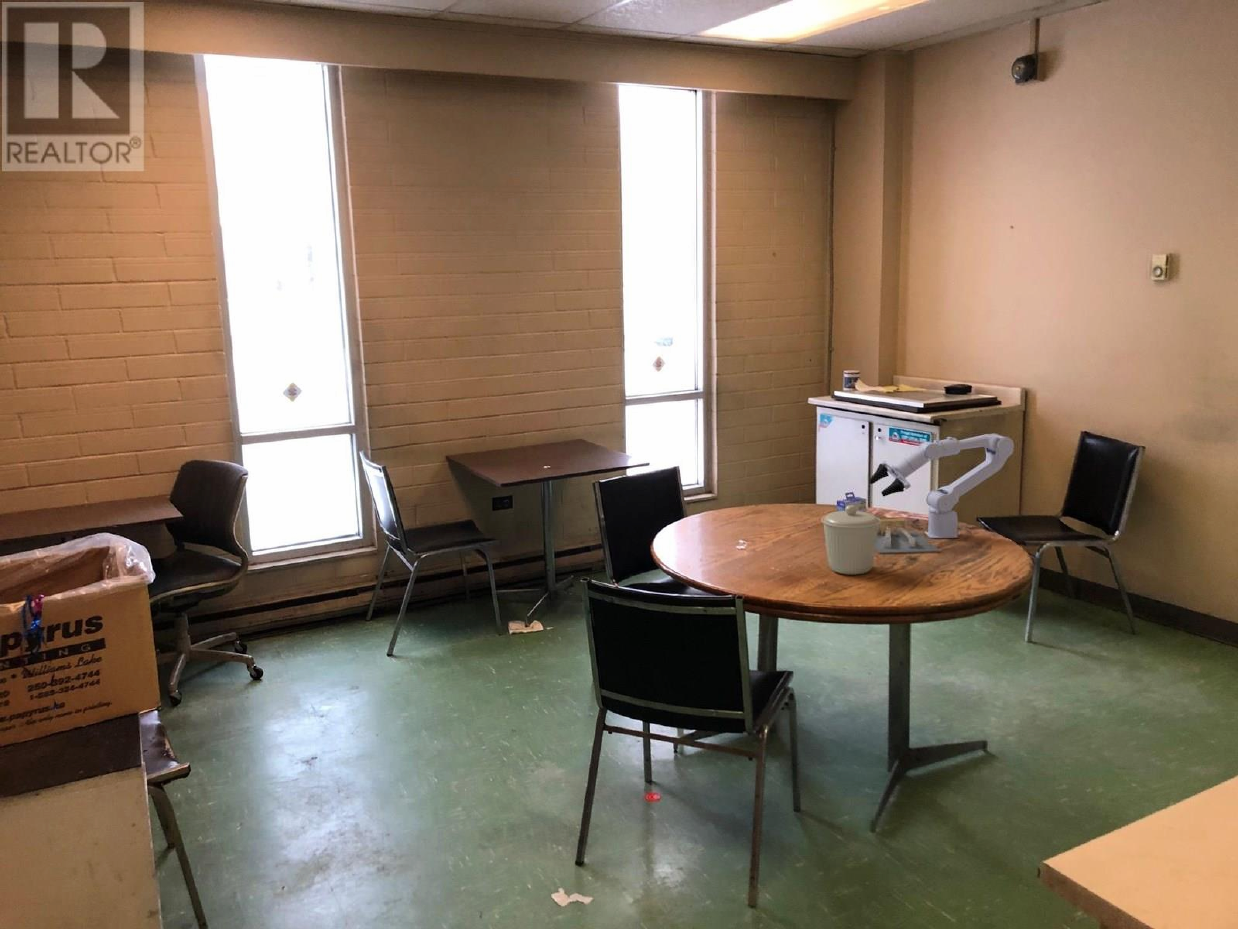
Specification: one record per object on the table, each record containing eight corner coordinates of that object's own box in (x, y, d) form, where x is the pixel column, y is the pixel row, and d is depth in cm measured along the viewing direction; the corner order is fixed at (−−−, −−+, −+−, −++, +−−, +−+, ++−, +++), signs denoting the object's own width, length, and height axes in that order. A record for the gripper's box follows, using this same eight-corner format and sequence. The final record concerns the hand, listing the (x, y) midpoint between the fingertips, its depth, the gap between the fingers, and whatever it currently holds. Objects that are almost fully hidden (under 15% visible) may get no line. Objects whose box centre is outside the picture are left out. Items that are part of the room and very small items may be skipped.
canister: (823, 578, 301) (823, 512, 297) (819, 561, 318) (819, 499, 314) (883, 579, 298) (884, 512, 294) (876, 562, 316) (877, 498, 312)
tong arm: (891, 535, 344) (891, 527, 344) (890, 548, 329) (890, 539, 328) (885, 535, 345) (885, 526, 344) (883, 547, 329) (884, 539, 329)
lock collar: (902, 532, 347) (902, 518, 347) (904, 534, 345) (904, 520, 344) (878, 533, 348) (879, 519, 347) (880, 535, 345) (881, 521, 344)
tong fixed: (902, 534, 344) (902, 526, 344) (915, 547, 328) (915, 538, 328) (896, 535, 344) (896, 526, 344) (908, 547, 328) (908, 539, 328)
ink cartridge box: (857, 528, 358) (858, 490, 355) (867, 532, 353) (867, 492, 350) (835, 532, 353) (836, 493, 351) (845, 535, 349) (845, 496, 346)
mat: (917, 532, 349) (917, 530, 349) (939, 552, 324) (939, 550, 324) (861, 534, 350) (861, 532, 350) (878, 554, 324) (879, 552, 324)
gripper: (893, 447, 341) (861, 469, 341) (918, 470, 330) (885, 493, 330) (898, 459, 346) (866, 481, 346) (922, 482, 335) (890, 505, 335)
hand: (876, 488), depth 339 cm, fingers open, 7 cm apart
